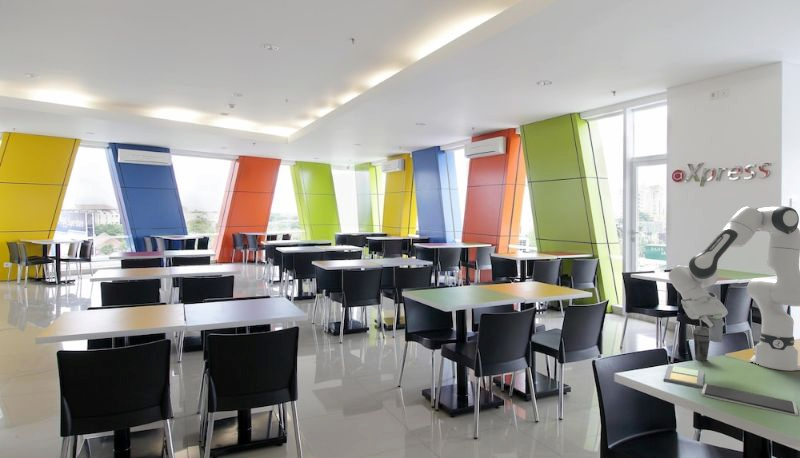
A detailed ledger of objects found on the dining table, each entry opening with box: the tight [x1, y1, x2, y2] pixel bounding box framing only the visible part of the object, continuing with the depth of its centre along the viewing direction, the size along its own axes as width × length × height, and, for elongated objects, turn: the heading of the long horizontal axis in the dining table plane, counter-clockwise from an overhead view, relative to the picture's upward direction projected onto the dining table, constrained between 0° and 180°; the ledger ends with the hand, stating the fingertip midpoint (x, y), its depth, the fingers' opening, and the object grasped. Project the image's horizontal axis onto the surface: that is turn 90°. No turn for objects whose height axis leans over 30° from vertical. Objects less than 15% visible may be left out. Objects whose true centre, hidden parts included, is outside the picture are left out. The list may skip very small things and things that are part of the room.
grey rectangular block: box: [708, 315, 724, 343], centre depth 196 cm, size 5×5×11 cm
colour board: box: [663, 364, 705, 389], centre depth 191 cm, size 22×13×1 cm, turn 146°
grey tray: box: [700, 383, 799, 417], centre depth 167 cm, size 13×27×2 cm, turn 53°
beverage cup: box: [692, 319, 710, 361], centre depth 218 cm, size 7×7×20 cm
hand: (717, 325), depth 196 cm, fingers closed on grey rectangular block, 5 cm apart
